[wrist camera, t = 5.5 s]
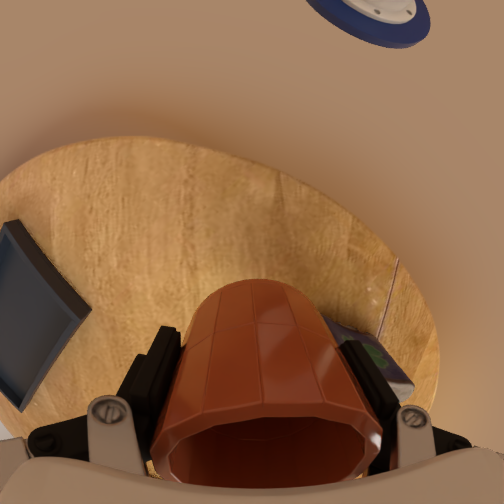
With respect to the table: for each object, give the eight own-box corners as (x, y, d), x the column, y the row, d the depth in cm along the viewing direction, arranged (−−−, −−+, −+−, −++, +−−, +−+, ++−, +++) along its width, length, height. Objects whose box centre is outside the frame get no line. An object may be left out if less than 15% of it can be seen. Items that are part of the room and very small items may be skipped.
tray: (18, 218, 21) (3, 222, 19) (92, 309, 24) (80, 320, 22) (-23, 346, 25) (-31, 353, 23) (28, 404, 28) (21, 413, 26)
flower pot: (191, 270, 11) (132, 384, 4) (335, 284, 12) (420, 389, 5) (188, 383, 13) (164, 499, 6) (306, 390, 13) (338, 501, 6)
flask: (380, 336, 26) (430, 398, 16) (365, 358, 27) (407, 423, 16) (312, 307, 25) (351, 379, 15) (296, 332, 26) (324, 410, 15)
